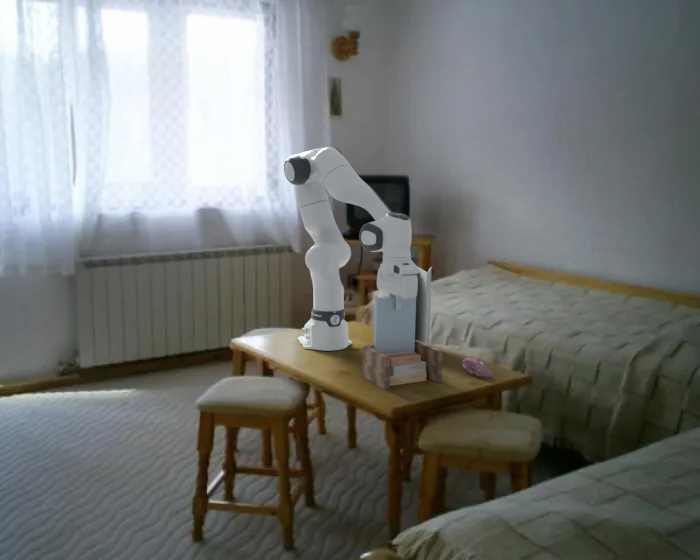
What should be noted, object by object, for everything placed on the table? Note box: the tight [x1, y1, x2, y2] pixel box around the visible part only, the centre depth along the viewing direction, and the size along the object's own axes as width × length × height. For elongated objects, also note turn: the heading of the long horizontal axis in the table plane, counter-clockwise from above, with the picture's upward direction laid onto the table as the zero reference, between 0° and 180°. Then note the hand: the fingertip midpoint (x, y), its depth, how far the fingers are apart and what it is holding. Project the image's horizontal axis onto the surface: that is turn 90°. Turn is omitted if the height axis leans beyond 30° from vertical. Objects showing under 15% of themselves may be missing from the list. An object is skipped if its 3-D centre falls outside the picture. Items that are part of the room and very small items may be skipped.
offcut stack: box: [384, 351, 427, 387], centre depth 228 cm, size 7×13×8 cm, turn 115°
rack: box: [361, 340, 444, 391], centre depth 229 cm, size 15×20×10 cm
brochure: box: [415, 265, 433, 345], centre depth 260 cm, size 14×6×30 cm, turn 168°
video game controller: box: [461, 357, 494, 379], centre depth 234 cm, size 10×5×7 cm, turn 35°
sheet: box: [373, 295, 416, 354], centre depth 232 cm, size 2×14×24 cm, turn 116°
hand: (395, 308), depth 230 cm, fingers closed on sheet, 2 cm apart
